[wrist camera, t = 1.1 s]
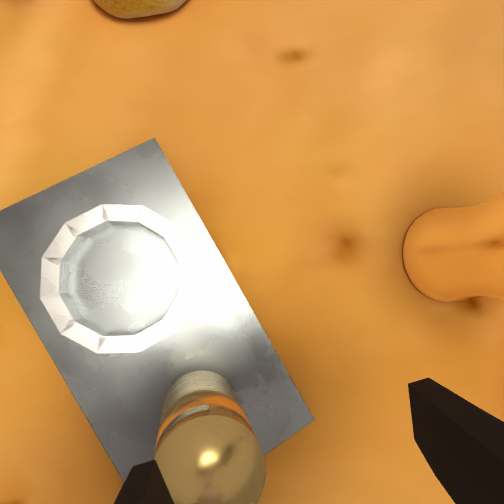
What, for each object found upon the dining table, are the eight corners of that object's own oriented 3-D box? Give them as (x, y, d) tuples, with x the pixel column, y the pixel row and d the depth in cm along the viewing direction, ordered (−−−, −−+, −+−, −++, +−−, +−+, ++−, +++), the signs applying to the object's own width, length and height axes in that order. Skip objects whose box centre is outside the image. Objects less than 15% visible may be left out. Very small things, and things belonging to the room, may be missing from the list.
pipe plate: (308, 413, 22) (324, 430, 20) (154, 520, 20) (150, 553, 18) (155, 144, 22) (152, 126, 19) (-17, 226, 20) (-45, 218, 17)
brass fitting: (217, 459, 20) (235, 553, 13) (148, 430, 19) (129, 511, 13) (250, 388, 21) (283, 442, 14) (183, 358, 20) (183, 398, 13)
